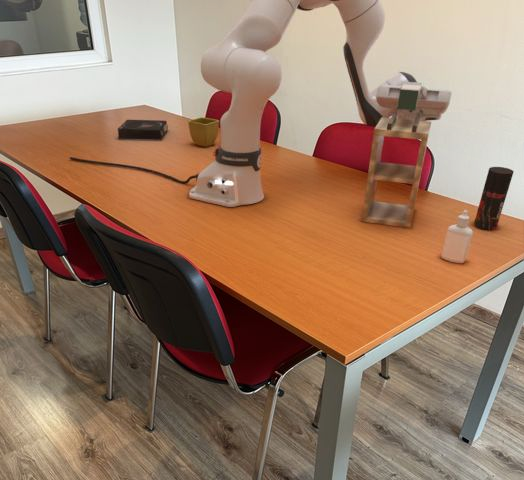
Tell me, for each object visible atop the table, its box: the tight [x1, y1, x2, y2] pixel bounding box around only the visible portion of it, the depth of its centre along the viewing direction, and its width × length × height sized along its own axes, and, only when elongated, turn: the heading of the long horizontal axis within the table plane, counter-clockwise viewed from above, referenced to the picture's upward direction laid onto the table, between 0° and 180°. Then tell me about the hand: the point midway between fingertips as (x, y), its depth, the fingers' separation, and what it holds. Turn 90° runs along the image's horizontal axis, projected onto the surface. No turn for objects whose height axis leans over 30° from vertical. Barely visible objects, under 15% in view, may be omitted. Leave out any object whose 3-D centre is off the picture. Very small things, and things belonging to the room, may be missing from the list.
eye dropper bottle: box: [440, 209, 474, 264], centre depth 119 cm, size 4×6×12 cm
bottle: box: [397, 82, 423, 110], centre depth 134 cm, size 20×4×4 cm, turn 162°
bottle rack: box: [361, 112, 432, 229], centre depth 138 cm, size 13×14×26 cm
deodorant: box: [473, 166, 514, 231], centre depth 136 cm, size 6×6×15 cm
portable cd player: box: [117, 119, 169, 142], centre depth 211 cm, size 16×17×4 cm
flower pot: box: [187, 116, 220, 148], centre depth 199 cm, size 9×9×9 cm
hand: (413, 86), depth 138 cm, fingers closed on bottle, 2 cm apart
